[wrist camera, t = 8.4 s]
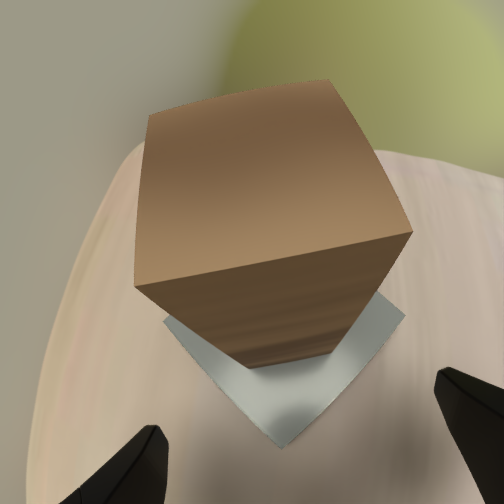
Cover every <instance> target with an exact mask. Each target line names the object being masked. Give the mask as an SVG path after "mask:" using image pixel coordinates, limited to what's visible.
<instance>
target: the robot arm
mask: <svg viewBox="0 0 504 504" xmlns="http://www.w3.org/2000/svg"><path fill="white" fill-rule="evenodd" d="M434 394H435V397H436V399H437V401H438V404H439V406H440V409H441V411H442V414H443V416H444V419H445V421H446V424H447V426H448V429H449V431H450V433H451V435H452V437H453V438H454V440H455V442H456V444H457V446H458V448H459V450H460V452H461V454H462V456H463V458H464V460H465V462H466V464H467V466H468V468H469V470H470V472H471V474H472V476H473V478H474V480H475V482H476V484H477V487H478V489H479V491H480V493H481V495H482V497H483V500H484V502H485V504H504V389H502V388H499V387H497V386H494V385H492V384H490V383H487V382H485V381H482V380H480V379H478V378H475V377H473V376H470V375H468V374H466V373H463V372H461V371H459V370H456V369H454V368H451V367H446V368H443V369H441V370H439V371H438V372H437V376H436V381H435V386H434ZM168 452H169V444H168V440H167V439H166V437H165V435H164V434H163V432H162V430H161V429H160V427H159V426H158V425H146V426H144V427H143V428H142V429H141V430H140V431H139V432H138V433H137V434H136V435H135V436H134V437H133V438H132V439H131V440H130V441H129V442H128V443H127V444H126V445H125V446H123V447H122V448H121V449H120V450H119V451H118V452H117V453H116V454H115V455H114V456H113V457H112V458H111V459H110V460H108V461H107V462H106V463H105V464H104V465H103V466H102V467H101V468H100V469H99V470H98V471H96V472H95V473H94V474H93V475H92V476H91V477H90V478H89V479H88V480H86V481H85V482H84V483H83V484H82V485H81V486H80V488H77V489H76V490H75V491H74V492H73V493H72V494H70V495H69V496H68V497H67V498H66V499H64V500H63V501H62V502H60V503H59V504H164V500H165V494H166V487H167V475H168Z"/></svg>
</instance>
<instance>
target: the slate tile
mask: <svg viewBox="0 0 504 504" xmlns="http://www.w3.org/2000/svg"><path fill="white" fill-rule="evenodd" d="M404 317H405V314H404V313H402V312H401V311H400V310H399V309H398V308H397V307H395V306H394V305H393V304H392V303H391V302H390V301H388V300H387V299H386V298H385V297H384V296H383V295H381V294H380V293H379V292H378V291H376V292H375V294H374V295H373V297H372V298H371V300H370V301H369V303H368V304H367V306H366V307H365V308H364V310H363V311H362V313H361V314H360V316H359V317H358V318H357V320H356V321H355V323H354V324H353V325H352V327H351V328H350V329H349V331H348V332H347V334H346V335H345V336H344V338H343V339H342V340H341V342H340V343H339V344H338V346H337V347H336V348H335V350H334V351H333V352H332V353H330V354H326V355H321V356H317V357H312V358H307V359H303V360H298V361H293V362H288V363H282V364H277V365H271V366H265V367H260V368H253V369H248V368H246V367H244V366H243V365H241V364H240V363H238V362H237V361H235V360H234V359H232V358H231V357H229V356H228V355H226V354H225V353H223V352H222V351H220V350H219V349H217V348H216V347H215V346H213V345H212V344H210V343H209V342H207V341H206V340H204V339H203V338H202V337H200V336H199V335H197V334H196V333H195V332H193V331H192V330H190V329H189V328H188V327H186V326H185V325H184V324H182V323H181V322H179V321H178V320H177V319H175V318H174V317H173V316H171V315H169V316H168V317H167V318H166V319H165V320H164V321H163V322H164V323H165V325H166V326H167V327H168V328H169V330H170V331H171V332H172V333H173V335H174V336H175V337H176V338H177V339H178V341H179V342H180V343H181V344H182V346H183V347H184V348H185V349H186V350H187V351H188V353H189V354H190V355H191V356H192V357H193V358H194V360H195V361H196V362H197V363H198V364H199V365H200V367H201V368H202V369H203V370H204V371H205V372H206V373H207V374H208V376H209V377H210V378H211V379H212V380H213V381H214V382H215V383H216V384H217V385H218V387H219V388H220V389H221V390H222V391H223V392H224V393H225V394H226V395H227V396H228V397H229V398H230V399H231V400H232V401H233V403H234V404H235V405H236V406H237V407H238V408H239V409H240V410H241V411H242V412H243V413H244V414H245V415H246V416H247V417H248V418H249V419H250V420H251V421H252V422H253V423H254V424H255V425H256V426H257V427H258V428H259V429H260V430H261V431H262V432H263V433H264V434H265V435H267V436H268V437H269V438H270V439H271V440H272V441H273V442H274V443H275V444H276V445H277V446H278V447H279V448H280V449H281V450H282V449H283V448H284V447H285V446H286V445H287V444H288V443H290V442H291V441H292V440H293V439H294V438H295V437H296V436H297V435H298V434H300V433H301V432H302V431H303V430H304V429H305V428H306V427H307V426H308V425H309V424H310V423H311V422H312V421H313V420H314V419H315V418H316V417H317V416H319V415H320V414H321V413H322V412H323V411H324V410H325V409H326V408H327V407H328V406H329V405H330V404H331V403H332V401H333V400H334V399H335V398H336V397H337V396H338V395H339V394H340V393H341V392H342V391H343V390H344V389H345V388H346V387H347V386H348V385H349V383H350V382H351V381H352V380H353V379H354V378H355V377H356V376H357V375H358V373H359V372H360V371H361V370H362V369H363V368H364V367H365V366H366V364H367V363H368V362H369V361H370V360H371V358H372V357H373V356H374V355H375V354H376V353H377V351H378V350H379V349H380V348H381V346H382V345H383V344H384V343H385V341H386V340H387V339H388V338H389V336H390V335H391V334H392V333H393V331H394V330H395V329H396V327H397V326H398V325H399V324H400V322H401V321H402V320H403V318H404Z"/></svg>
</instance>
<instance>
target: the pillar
mask: <svg viewBox="0 0 504 504" xmlns="http://www.w3.org/2000/svg"><path fill="white" fill-rule="evenodd" d="M412 232H413V230H412V227H411V225H410V223H409V220H408V218H407V216H406V214H405V212H404V209H403V207H402V205H401V203H400V201H399V199H398V197H397V195H396V193H395V191H394V189H393V187H392V185H391V183H390V181H389V179H388V177H387V175H386V173H385V171H384V169H383V167H382V165H381V164H380V162H379V160H378V158H377V156H376V154H375V153H374V151H373V149H372V147H371V145H370V144H369V142H368V140H367V139H366V137H365V135H364V134H363V132H362V130H361V128H360V127H359V125H358V123H357V122H356V120H355V119H354V117H353V115H352V114H351V112H350V111H349V109H348V107H347V106H346V104H345V103H344V101H343V100H342V98H341V97H340V95H339V94H338V92H337V91H336V89H335V88H334V86H333V85H332V83H331V82H330V81H329V80H328V79H327V80H317V81H308V82H299V83H292V84H284V85H277V86H271V87H265V88H259V89H253V90H248V91H242V92H237V93H233V94H228V95H224V96H219V97H214V98H210V99H206V100H202V101H198V102H194V103H190V104H187V105H182V106H179V107H175V108H172V109H168V110H165V111H162V112H158V113H155V114H152V115H149V120H148V126H147V133H146V139H145V146H144V154H143V161H142V169H141V178H140V188H139V198H138V210H137V223H136V239H135V262H134V287H135V288H137V289H138V290H139V291H140V292H142V293H143V294H144V295H145V296H147V297H148V298H149V299H150V300H152V301H153V302H154V303H156V304H157V305H158V306H159V307H161V308H162V309H163V310H165V311H166V312H167V313H169V314H170V315H171V316H173V317H174V318H175V319H177V320H178V321H179V322H181V323H182V324H184V325H185V326H186V327H188V328H189V329H190V330H192V331H193V332H195V333H196V334H197V335H199V336H200V337H202V338H203V339H204V340H206V341H207V342H209V343H210V344H212V345H213V346H215V347H216V348H217V349H219V350H220V351H222V352H223V353H225V354H226V355H228V356H229V357H231V358H232V359H234V360H235V361H237V362H238V363H240V364H241V365H243V366H244V367H246V368H248V369H253V368H260V367H265V366H271V365H277V364H282V363H288V362H293V361H298V360H303V359H307V358H312V357H317V356H321V355H326V354H330V353H332V352H333V351H334V350H335V348H336V347H337V346H338V344H339V343H340V342H341V340H342V339H343V338H344V336H345V335H346V334H347V332H348V331H349V329H350V328H351V327H352V325H353V324H354V323H355V321H356V320H357V318H358V317H359V316H360V314H361V313H362V311H363V310H364V308H365V307H366V306H367V304H368V303H369V301H370V300H371V298H372V297H373V295H374V294H375V292H376V291H377V289H378V288H379V286H380V285H381V283H382V282H383V280H384V279H385V277H386V275H387V274H388V272H389V271H390V269H391V268H392V266H393V264H394V263H395V261H396V259H397V258H398V256H399V255H400V253H401V251H402V250H403V248H404V246H405V244H406V243H407V241H408V239H409V238H410V236H411V234H412Z"/></svg>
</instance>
